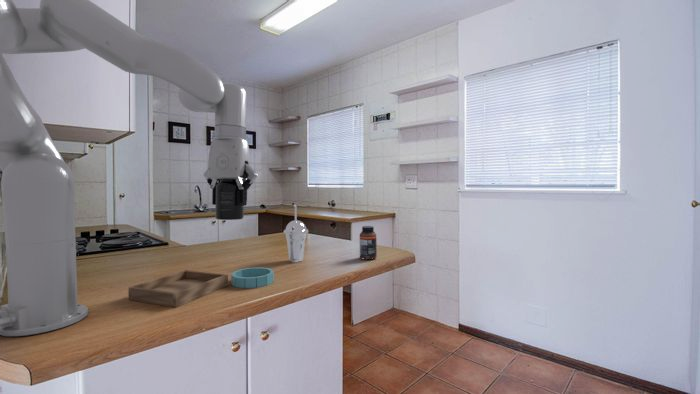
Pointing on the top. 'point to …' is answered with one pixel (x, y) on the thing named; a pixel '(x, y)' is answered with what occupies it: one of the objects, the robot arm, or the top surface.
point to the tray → (178, 288)
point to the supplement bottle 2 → (368, 243)
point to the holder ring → (252, 277)
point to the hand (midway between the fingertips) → (229, 204)
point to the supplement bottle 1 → (227, 201)
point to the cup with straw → (296, 238)
